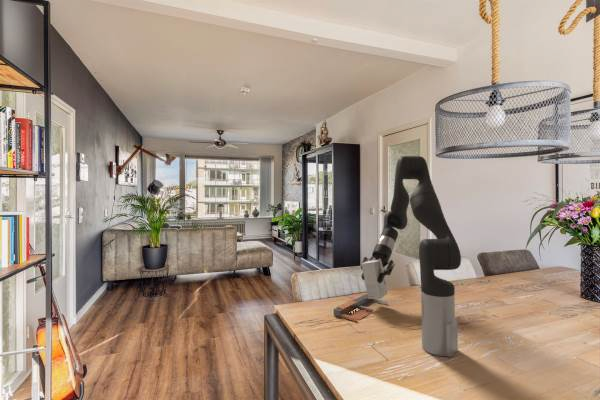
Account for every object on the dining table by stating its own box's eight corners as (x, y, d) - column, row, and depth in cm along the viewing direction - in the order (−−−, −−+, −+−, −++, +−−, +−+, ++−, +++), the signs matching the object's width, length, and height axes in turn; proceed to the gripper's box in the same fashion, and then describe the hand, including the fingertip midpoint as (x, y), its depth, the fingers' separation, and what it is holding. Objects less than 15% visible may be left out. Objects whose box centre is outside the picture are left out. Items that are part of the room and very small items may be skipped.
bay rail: (367, 299, 141) (366, 292, 141) (387, 304, 134) (387, 297, 134) (333, 315, 122) (333, 308, 122) (355, 322, 115) (355, 314, 115)
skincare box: (380, 299, 126) (374, 262, 127) (367, 299, 129) (360, 263, 130) (388, 293, 132) (381, 258, 134) (375, 293, 136) (368, 259, 137)
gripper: (366, 241, 141) (352, 272, 132) (396, 244, 131) (383, 278, 122) (372, 252, 145) (359, 282, 136) (402, 255, 135) (390, 288, 126)
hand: (370, 280), depth 129 cm, fingers closed on skincare box, 6 cm apart
